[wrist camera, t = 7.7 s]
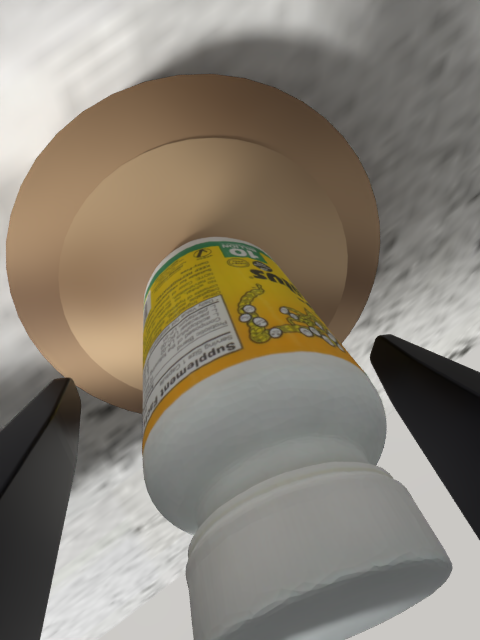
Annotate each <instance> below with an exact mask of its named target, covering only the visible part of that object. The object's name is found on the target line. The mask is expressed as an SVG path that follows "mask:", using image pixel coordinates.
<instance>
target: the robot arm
mask: <svg viewBox="0 0 480 640" xmlns="http://www.w3.org/2000/svg"><path fill="white" fill-rule="evenodd" d="M370 361H371V364H372V366H373V368H374V369H375V371H376V373H377V375H378V377H379V379H380V381H381V383H382V385H383V387H384V389H385V391H386V393H387V395H388V397H389V399H390V401H391V402H392V404H393V406H394V407H395V409H396V411H397V412H398V414H399V415H400V417H401V418H402V420H403V422H404V423H405V425H406V426H407V428H408V429H409V431H410V432H411V434H412V436H413V437H414V439H415V440H416V442H417V443H418V445H419V447H420V448H421V449H422V451H423V453H424V454H425V456H426V457H427V459H428V461H429V462H430V463H431V465H432V467H433V468H434V470H435V471H436V473H437V474H438V476H439V478H440V479H441V481H442V482H443V484H444V485H445V487H446V489H447V490H448V491H449V493H450V495H451V496H452V498H453V499H454V501H455V502H456V504H457V506H458V507H459V509H460V510H461V512H462V513H463V515H464V517H465V518H466V520H467V521H468V523H469V524H470V526H471V527H472V529H473V531H474V532H475V534H476V535H477V537H478V538H479V540H480V372H478V371H475V370H473V369H471V368H468V367H466V366H464V365H461V364H459V363H457V362H454V361H452V360H450V359H447V358H445V357H443V356H440V355H438V354H436V353H433V352H431V351H429V350H426V349H424V348H422V347H419V346H417V345H415V344H412V343H410V342H408V341H405V340H403V339H401V338H398V337H396V336H394V335H391V334H386V335H380V336H378V337H377V338H376V339H375V342H374V345H373V348H372V351H371V354H370ZM80 414H81V400H80V397H79V394H78V391H77V389H76V386H75V383H74V381H73V379H72V378H70V377H66V378H59V379H54V380H53V381H51V382H50V383H49V384H48V385H47V386H46V387H45V388H44V389H43V390H42V391H41V392H40V393H39V394H38V395H37V396H36V397H35V398H34V399H33V400H32V401H31V402H30V403H29V404H28V405H27V406H26V407H25V408H24V409H23V410H22V411H21V412H20V413H19V414H18V415H16V416H15V417H14V418H13V419H12V420H11V421H10V422H9V423H8V424H7V425H6V426H5V427H4V428H3V429H2V430H1V431H0V640H40V637H41V632H42V627H43V622H44V617H45V613H46V608H47V603H48V598H49V593H50V588H51V584H52V579H53V574H54V569H55V564H56V559H57V555H58V550H59V545H60V540H61V535H62V530H63V525H64V521H65V516H66V511H67V506H68V501H69V496H70V492H71V487H72V482H73V477H74V472H75V467H76V461H77V451H78V439H79V426H80Z"/></svg>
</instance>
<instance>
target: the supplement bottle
mask: <svg viewBox="0 0 480 640" xmlns="http://www.w3.org/2000/svg"><path fill="white" fill-rule="evenodd" d="M142 416H143V421H142V455H143V471H144V480H145V484H146V487H147V491H148V493H149V495H150V498H151V500H152V502H153V503H154V505H155V506H156V508H157V509H158V511H159V512H160V513H161V514H162V515H163V516H164V517H165V518H166V519H167V520H168V521H169V522H171V523H172V524H173V525H174V526H176V527H178V528H179V529H181V530H183V531H185V532H187V533H189V534H192V535H194V536H193V538H192V540H191V543H190V545H189V549H188V562H187V565H186V580H187V584H188V588H189V596H190V607H191V617H192V627H193V636H194V640H345V639H348V638H350V637H352V636H355V635H357V634H359V633H361V632H364V631H366V630H368V629H370V628H372V627H374V626H377V625H379V624H381V623H383V622H385V621H387V620H389V619H390V618H392V617H394V616H396V615H398V614H400V613H402V612H404V611H405V610H407V609H408V608H410V607H412V606H414V605H415V604H417V603H418V602H420V601H422V600H423V599H425V598H426V597H428V596H429V595H431V594H433V593H434V592H435V591H436V590H437V589H438V588H439V587H441V585H443V584H444V583H445V582H446V580H447V579H448V577H449V575H450V573H451V571H452V563H451V561H450V559H449V557H448V555H447V554H446V551H445V550H444V548H443V546H442V545H441V543H440V542H439V540H438V538H437V537H436V535H435V534H434V532H433V531H432V529H431V527H430V526H429V524H428V522H427V521H426V519H425V518H424V516H423V515H422V513H421V511H420V510H419V508H418V507H417V505H416V503H415V502H414V500H413V498H412V496H411V495H410V493H409V492H408V490H407V489H406V488H405V487H404V486H403V485H402V484H401V483H400V482H399V481H397V480H394V479H393V477H392V476H391V475H390V474H389V473H388V472H387V471H385V470H384V469H383V468H381V467H378V466H376V465H377V463H378V461H379V459H380V456H381V453H382V451H383V448H384V444H385V439H386V416H385V411H384V407H383V404H382V400H381V398H380V396H379V394H378V392H377V390H376V388H375V387H374V385H373V384H372V382H371V381H370V379H369V377H368V376H367V375H366V373H365V372H364V371H363V370H362V369H361V367H360V366H359V365H358V364H357V363H356V362H355V360H354V359H353V358H352V357H351V356H350V354H349V353H348V352H347V351H346V349H345V348H344V347H343V346H342V344H341V343H340V342H339V341H338V340H337V338H336V337H335V336H334V335H333V334H332V333H331V331H330V330H329V329H328V328H327V326H326V325H325V324H324V322H323V321H322V320H321V319H320V318H319V316H318V315H317V314H316V313H315V311H314V310H313V309H312V307H311V306H310V305H309V303H308V302H307V301H306V300H305V299H304V297H303V296H302V295H301V294H300V292H299V291H298V290H297V288H296V287H295V286H294V285H293V284H292V283H291V281H290V280H289V279H288V277H287V276H286V275H285V274H284V273H283V271H282V270H281V269H280V267H279V266H278V265H277V264H276V263H275V262H274V260H273V259H272V258H271V257H270V256H269V255H268V254H267V253H266V252H264V251H263V250H262V249H261V248H259V247H257V246H255V245H253V244H251V243H249V242H246V241H242V240H237V239H233V238H227V237H207V238H201V239H197V240H193V241H190V242H188V243H186V244H184V245H182V246H180V247H179V248H177V249H176V250H174V251H173V252H171V253H170V254H169V255H168V256H167V257H166V258H165V259H164V260H162V261H161V263H160V264H159V265H158V266H157V267H156V269H155V270H154V272H153V274H152V276H151V278H150V280H149V282H148V284H147V287H146V291H145V295H144V308H143V413H142Z"/></svg>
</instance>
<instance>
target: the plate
mask: <svg viewBox="0 0 480 640" xmlns="http://www.w3.org/2000/svg"><path fill="white" fill-rule="evenodd" d="M207 237H227V238H233V239H237V240H242V241H246V242H249V243H251V244H253V245H255V246H257V247H259V248H261V249H262V250H263V251H264V252H266V253H267V254H268V255H269V256H270V257H271V258H272V259H273V260H274V262H275V263H276V264H277V265H278V266H279V267H280V269H281V270H282V271H283V273H284V274H285V275H286V276H287V277H288V279H289V280H290V281H291V283H292V284H293V285H294V286H295V287H296V288H297V290H298V291H299V292H300V294H301V295H302V296H303V297H304V299H305V300H306V301H307V302H308V303H309V305H310V306H311V307H312V309H313V310H314V311H315V313H316V314H317V315H318V316H319V318H320V319H321V320H322V321H323V322H324V324H325V325H326V326H327V328H328V329H329V330H330V331H331V333H332V334H333V335H334V336H335V337H336V338H337V340H338V341H339V342H340V343H341V344H342V343H343V341H344V340H345V339H346V337H347V336H348V335H349V333H350V332H351V330H352V329H353V327H354V325H355V324H356V322H357V321H358V319H359V317H360V315H361V313H362V311H363V309H364V307H365V305H366V303H367V301H368V298H369V295H370V292H371V289H372V286H373V284H374V279H375V275H376V271H377V266H378V259H379V250H380V223H379V217H378V211H377V205H376V200H375V197H374V194H373V190H372V187H371V184H370V181H369V178H368V176H367V174H366V172H365V170H364V168H363V166H362V164H361V162H360V160H359V158H358V157H357V155H356V154H355V152H354V151H353V150H352V148H351V147H350V145H349V144H348V143H347V141H346V140H345V138H344V137H343V136H342V135H341V134H340V133H339V132H338V131H337V130H336V129H335V128H334V127H333V126H332V125H331V124H330V123H329V122H328V121H327V120H326V119H325V118H324V117H323V116H322V115H320V114H319V113H317V112H316V111H315V110H313V109H312V108H311V107H309V106H308V105H307V104H305V103H304V102H302V101H301V100H299V99H297V98H295V97H293V96H291V95H289V94H287V93H285V92H283V91H281V90H279V89H277V88H275V87H271V86H268V85H265V84H262V83H259V82H255V81H252V80H249V79H246V78H239V77H232V76H224V75H217V74H194V75H176V76H171V77H166V78H161V79H156V80H151V81H146V82H143V83H140V84H138V85H135V86H132V87H130V88H127V89H125V90H122V91H119V92H117V93H114V94H112V95H110V96H108V97H107V98H105V99H103V100H102V101H100V102H98V103H97V104H95V105H93V106H92V107H90V108H88V109H87V110H85V111H83V112H82V113H81V114H79V115H78V116H77V117H76V118H75V119H74V120H72V121H71V122H70V123H69V124H68V125H67V126H65V127H64V128H63V129H62V130H61V131H60V132H58V133H57V134H56V135H55V137H54V138H53V139H52V140H51V142H50V143H49V144H48V145H47V146H46V148H45V149H44V150H43V151H42V152H41V154H40V155H39V156H38V157H37V158H36V160H35V162H34V164H33V165H32V167H31V169H30V171H29V172H28V174H27V176H26V178H25V179H24V181H23V183H22V185H21V187H20V190H19V192H18V195H17V198H16V201H15V204H14V206H13V209H12V212H11V216H10V222H9V228H8V234H7V240H6V270H7V275H8V281H9V287H10V293H11V296H12V299H13V302H14V305H15V308H16V311H17V313H18V316H19V318H20V320H21V322H22V324H23V326H24V328H25V330H26V332H27V334H28V335H29V337H30V339H31V340H32V341H33V343H34V344H35V346H36V347H37V348H38V350H39V351H40V352H41V354H42V355H43V356H44V357H45V358H46V359H47V361H48V362H49V363H50V364H51V365H52V366H53V367H54V368H55V369H56V370H57V371H58V372H59V373H61V374H62V375H63V376H64V377H70V378H72V379H73V381H74V383H75V385H76V386H77V387H79V388H81V389H82V390H84V391H86V392H87V393H89V394H90V395H92V396H94V397H96V398H98V399H100V400H102V401H105V402H107V403H109V404H111V405H114V406H117V407H120V408H123V409H125V410H128V411H133V412H137V413H141V414H142V413H143V308H144V295H145V291H146V287H147V284H148V282H149V280H150V278H151V276H152V274H153V272H154V270H155V269H156V267H157V266H158V265H159V264H160V263H161V261H162V260H164V259H165V258H166V257H167V256H168V255H169V254H170V253H171V252H173V251H174V250H176V249H177V248H179V247H180V246H182V245H184V244H186V243H188V242H190V241H193V240H197V239H201V238H207Z"/></svg>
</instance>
